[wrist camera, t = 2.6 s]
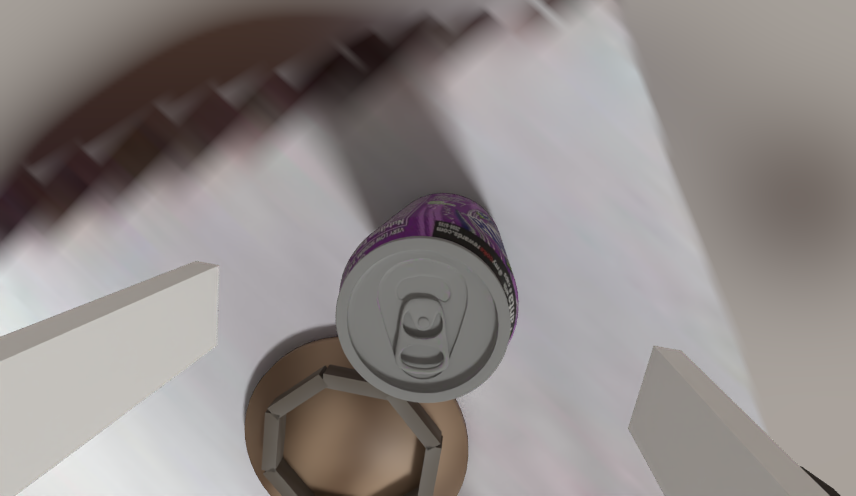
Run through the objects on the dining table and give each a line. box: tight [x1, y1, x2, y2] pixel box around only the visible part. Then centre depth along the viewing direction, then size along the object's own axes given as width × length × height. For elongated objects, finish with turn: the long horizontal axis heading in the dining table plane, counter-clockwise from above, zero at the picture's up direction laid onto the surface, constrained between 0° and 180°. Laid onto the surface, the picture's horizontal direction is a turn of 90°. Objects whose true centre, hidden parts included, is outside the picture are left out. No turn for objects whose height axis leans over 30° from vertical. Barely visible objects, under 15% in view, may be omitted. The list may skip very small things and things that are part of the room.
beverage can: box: [336, 193, 518, 403], centre depth 20 cm, size 7×7×12 cm
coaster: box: [245, 337, 468, 496], centre depth 29 cm, size 16×16×2 cm
